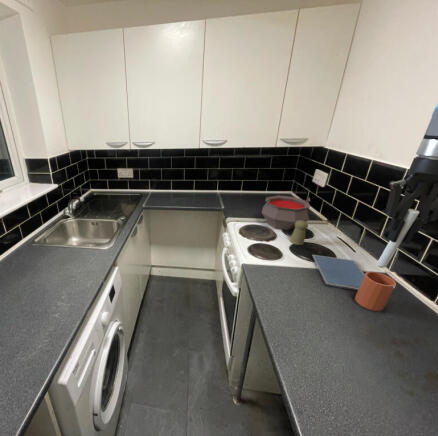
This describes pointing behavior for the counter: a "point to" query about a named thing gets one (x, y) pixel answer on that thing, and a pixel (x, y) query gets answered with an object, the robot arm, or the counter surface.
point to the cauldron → (285, 211)
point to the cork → (299, 232)
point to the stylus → (393, 246)
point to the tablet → (339, 272)
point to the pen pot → (374, 291)
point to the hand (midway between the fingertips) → (397, 240)
